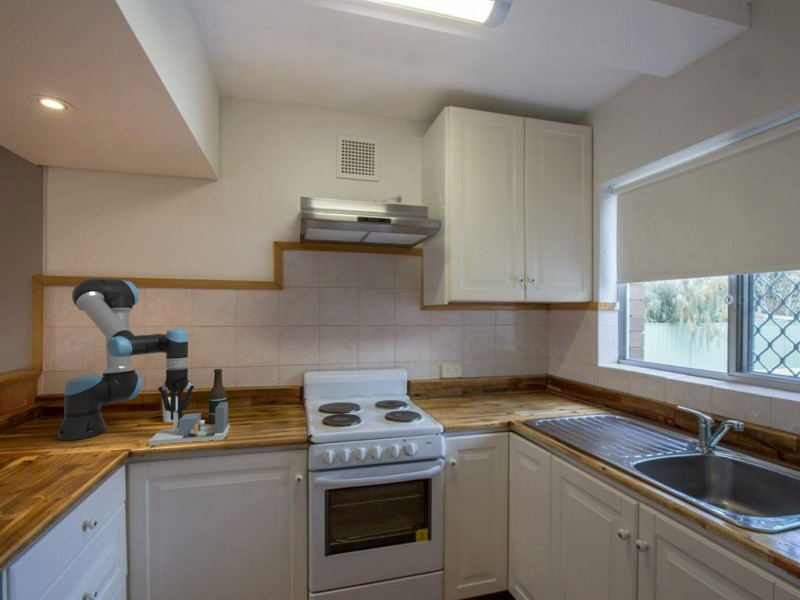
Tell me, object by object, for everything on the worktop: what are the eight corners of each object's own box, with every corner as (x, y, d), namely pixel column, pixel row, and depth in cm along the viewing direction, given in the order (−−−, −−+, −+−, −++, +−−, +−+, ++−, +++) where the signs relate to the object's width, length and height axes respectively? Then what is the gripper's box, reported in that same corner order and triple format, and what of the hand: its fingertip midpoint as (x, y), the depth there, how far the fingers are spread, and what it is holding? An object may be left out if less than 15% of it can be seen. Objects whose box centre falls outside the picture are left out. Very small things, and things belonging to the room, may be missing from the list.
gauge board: (148, 446, 143) (148, 413, 144) (161, 434, 157) (161, 404, 157) (223, 439, 150) (224, 409, 150) (229, 428, 164) (230, 400, 164)
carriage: (176, 437, 146) (177, 421, 146) (185, 428, 157) (185, 414, 157) (199, 435, 148) (200, 420, 148) (206, 427, 159) (206, 412, 159)
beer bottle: (205, 422, 173) (205, 369, 174) (222, 418, 179) (223, 367, 180) (212, 425, 168) (212, 371, 169) (229, 422, 174) (230, 369, 174)
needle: (194, 434, 148) (194, 425, 148) (195, 433, 150) (195, 423, 150) (196, 434, 148) (196, 425, 148) (197, 432, 150) (198, 423, 150)
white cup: (166, 423, 171) (166, 401, 171) (159, 420, 176) (159, 398, 176) (184, 419, 177) (185, 398, 178) (177, 416, 182) (177, 395, 182)
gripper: (155, 370, 147) (154, 432, 147) (192, 369, 151) (191, 429, 150) (162, 367, 155) (161, 426, 154) (197, 366, 158) (196, 423, 157)
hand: (176, 427), depth 152 cm, fingers closed
